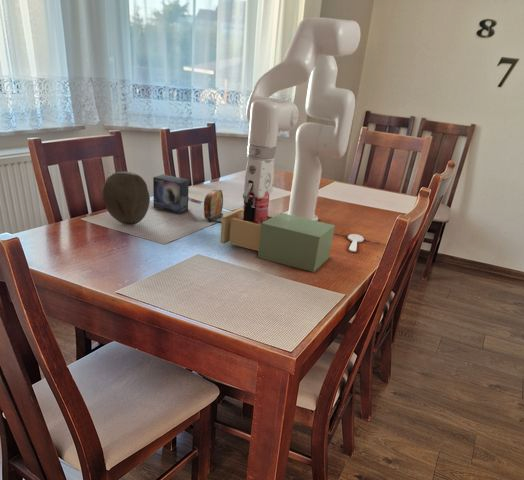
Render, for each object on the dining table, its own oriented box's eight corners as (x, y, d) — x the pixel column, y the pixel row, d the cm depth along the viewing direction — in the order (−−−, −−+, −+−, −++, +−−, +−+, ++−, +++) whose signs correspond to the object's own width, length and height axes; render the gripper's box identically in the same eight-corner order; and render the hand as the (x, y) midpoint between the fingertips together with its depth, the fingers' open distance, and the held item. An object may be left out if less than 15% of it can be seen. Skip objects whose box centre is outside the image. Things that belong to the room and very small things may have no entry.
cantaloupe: (160, 225, 149) (160, 175, 141) (120, 232, 139) (118, 179, 132) (133, 213, 156) (132, 165, 149) (94, 219, 147) (90, 168, 139)
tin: (210, 223, 157) (212, 197, 152) (201, 221, 157) (202, 195, 153) (223, 212, 169) (224, 187, 165) (214, 210, 170) (216, 186, 165)
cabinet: (257, 257, 134) (261, 222, 129) (276, 244, 146) (280, 212, 140) (313, 272, 129) (319, 237, 124) (328, 258, 140) (335, 225, 135)
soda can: (268, 233, 142) (273, 188, 135) (260, 240, 136) (265, 193, 129) (246, 228, 144) (250, 184, 137) (237, 235, 138) (241, 189, 131)
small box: (152, 208, 164) (151, 176, 159) (162, 204, 169) (162, 173, 164) (179, 214, 161) (179, 182, 156) (188, 210, 166) (189, 179, 161)
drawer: (201, 238, 140) (202, 211, 136) (222, 228, 150) (224, 203, 146) (268, 256, 133) (272, 228, 129) (285, 244, 144) (289, 218, 140)
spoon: (343, 250, 148) (343, 248, 147) (348, 234, 163) (349, 232, 163) (360, 253, 147) (361, 251, 147) (364, 236, 162) (364, 235, 162)
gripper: (260, 158, 120) (253, 227, 129) (286, 151, 134) (278, 214, 143) (233, 153, 122) (229, 221, 132) (262, 146, 136) (255, 208, 146)
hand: (254, 217), depth 137 cm, fingers closed on soda can, 7 cm apart
